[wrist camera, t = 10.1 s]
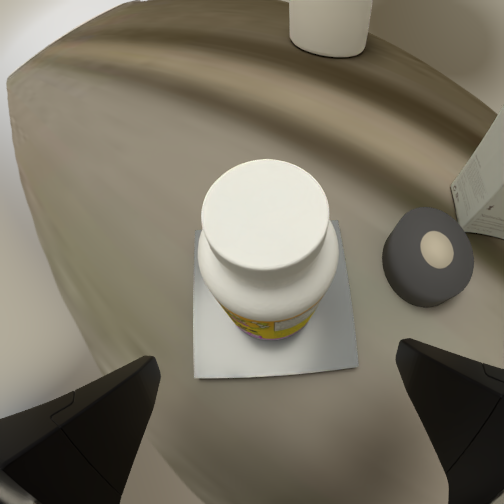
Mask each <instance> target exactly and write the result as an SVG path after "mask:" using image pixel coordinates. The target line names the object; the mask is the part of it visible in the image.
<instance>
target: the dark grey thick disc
mask: <svg viewBox="0 0 504 504" xmlns="http://www.w3.org/2000/svg"><path fill="white" fill-rule="evenodd" d="M382 260H383V268H384V272H385V275H386V277H387V280H388V282H389V284H390V285H391V287H392V288H393V290H394V291H395V292H396V293H397V294H398V295H399V296H400V297H401V298H402V299H404V300H405V301H407V302H408V303H410V304H412V305H415V306H419V307H433V306H436V305H439V304H441V303H442V302H444V301H446V300H448V299H450V298H451V297H453V296H455V295H457V294H459V293H460V292H461V291H462V290H463V289H464V288H465V287H466V286H467V284H468V283H469V281H470V279H471V276H472V273H473V267H474V257H473V251H472V247H471V244H470V241H469V239H468V237H467V235H466V233H465V232H464V230H463V229H462V227H461V226H460V225H459V224H458V223H457V222H456V221H455V220H454V219H453V218H452V217H451V216H449V215H448V214H446V213H444V212H443V211H440V210H438V209H435V208H430V207H420V208H416V209H413V210H411V211H409V212H408V213H406V214H405V215H404V216H403V217H402V218H401V220H400V221H399V222H398V224H397V225H396V227H395V228H394V230H393V231H392V232H391V234H390V235H389V237H388V238H387V240H386V242H385V245H384V249H383V256H382Z"/></svg>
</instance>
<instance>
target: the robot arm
mask: <svg viewBox="0 0 504 504" xmlns="http://www.w3.org/2000/svg"><path fill="white" fill-rule="evenodd" d="M396 364H397V367H398V369H399V372H400V375H401V378H402V380H403V383H404V386H405V388H406V391H407V393H408V395H409V397H410V399H411V401H412V403H413V405H414V407H415V409H416V411H417V413H418V415H419V417H420V419H421V421H422V423H423V425H424V428H425V430H426V432H427V434H428V436H429V438H430V440H431V442H432V445H433V447H434V449H435V451H436V453H437V456H438V458H439V460H440V462H441V465H442V467H443V469H444V471H445V474H446V476H447V479H448V484H449V502H448V504H504V369H501V368H497V367H494V366H491V365H488V364H485V363H483V364H482V363H481V362H478V361H475V360H472V359H469V358H466V357H463V356H460V355H457V354H454V353H451V352H448V351H445V350H442V349H440V348H437V347H434V346H431V345H428V344H425V343H422V342H420V341H417V340H414V339H411V338H407V339H402V340H401V341H400V342H399V346H398V350H397V354H396ZM160 379H161V374H160V370H159V367H158V364H157V361H156V359H155V357H154V356H143V357H141V358H139V359H137V360H135V361H133V362H131V363H129V364H127V365H125V366H123V367H121V368H119V369H117V370H115V371H113V372H111V373H109V374H107V375H105V376H103V377H101V378H99V379H97V380H95V381H93V382H91V383H89V384H87V385H85V386H83V387H81V388H79V389H77V390H75V392H74V391H72V392H70V393H68V394H66V395H63V396H61V397H59V398H56V399H54V400H52V401H49V402H47V403H44V404H42V405H39V406H36V407H33V408H31V409H28V410H25V411H22V412H20V413H16V414H14V415H11V416H8V417H5V418H2V419H0V504H120V500H121V495H122V493H123V490H124V488H125V485H126V482H127V479H128V476H129V473H130V471H131V468H132V465H133V462H134V459H135V457H136V454H137V451H138V448H139V446H140V443H141V440H142V437H143V435H144V432H145V429H146V427H147V424H148V421H149V419H150V416H151V413H152V411H153V408H154V404H155V400H156V396H157V391H158V387H159V383H160Z"/></svg>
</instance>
